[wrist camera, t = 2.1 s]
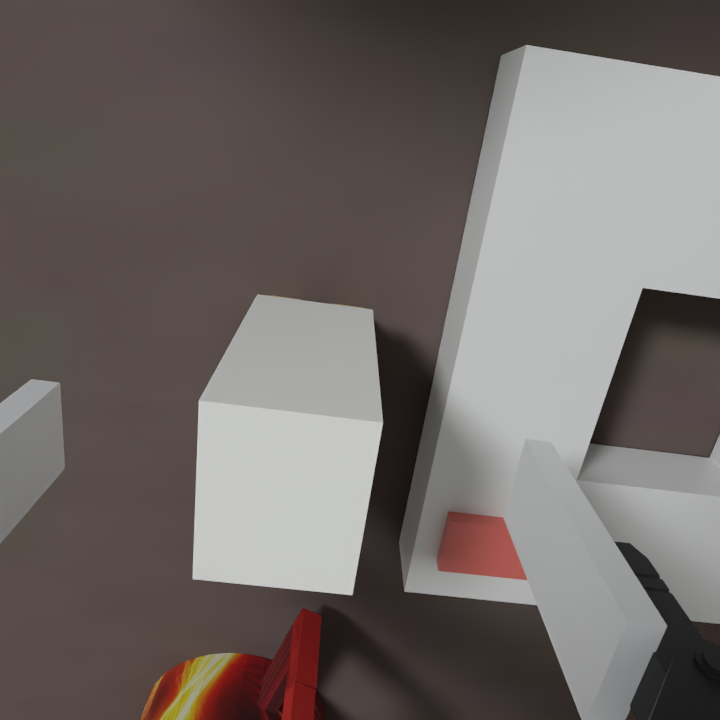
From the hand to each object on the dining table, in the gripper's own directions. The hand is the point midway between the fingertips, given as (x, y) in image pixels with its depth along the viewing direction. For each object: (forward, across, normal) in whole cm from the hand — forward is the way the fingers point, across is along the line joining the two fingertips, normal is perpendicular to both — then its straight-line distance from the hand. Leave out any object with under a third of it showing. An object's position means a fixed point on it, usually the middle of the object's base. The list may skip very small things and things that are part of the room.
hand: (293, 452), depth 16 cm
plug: (+7, 0, +1) cm, 7 cm away
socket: (+7, +14, +2) cm, 16 cm away
